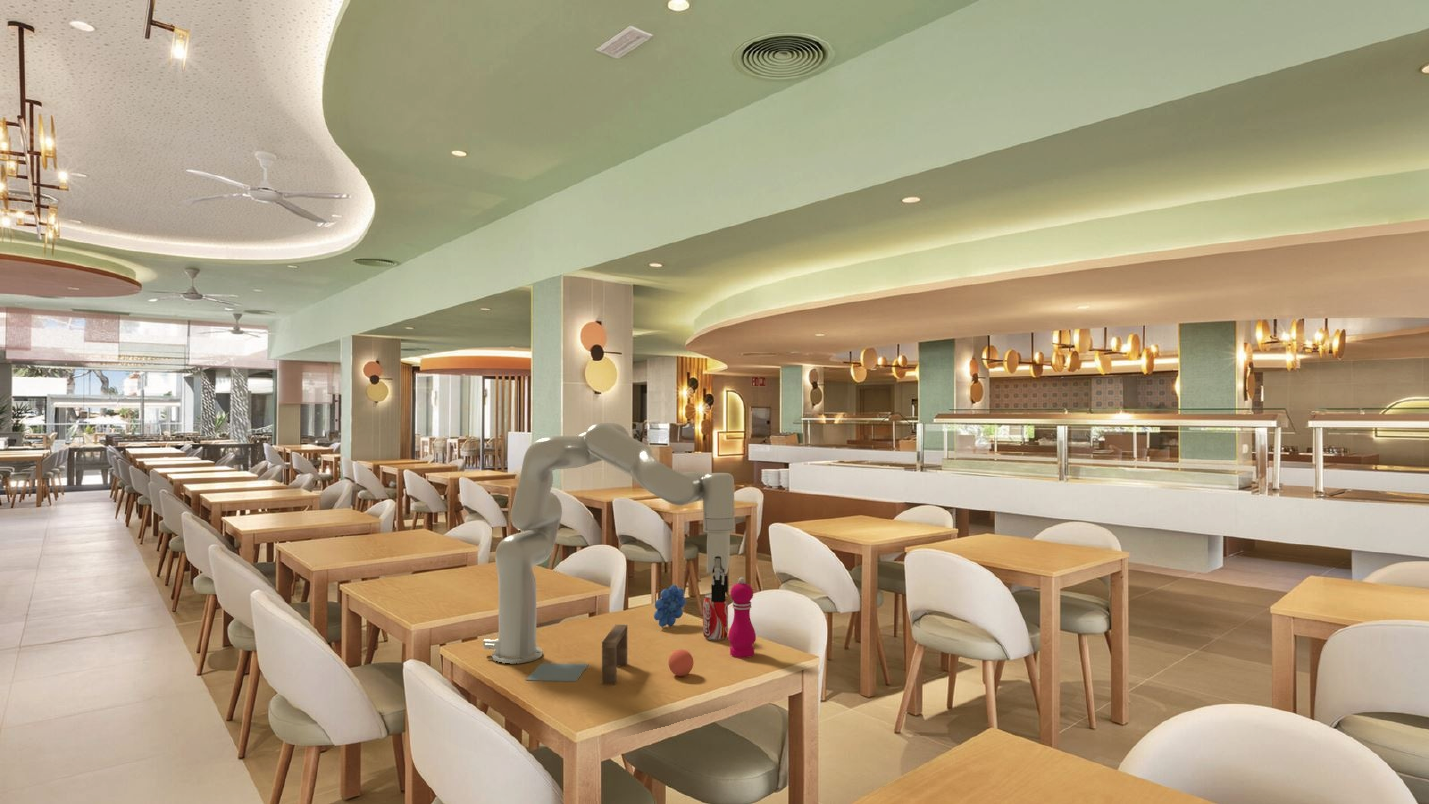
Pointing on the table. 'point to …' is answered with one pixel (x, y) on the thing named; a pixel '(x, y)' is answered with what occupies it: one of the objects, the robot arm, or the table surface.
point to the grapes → (669, 606)
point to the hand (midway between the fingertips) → (719, 597)
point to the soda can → (715, 619)
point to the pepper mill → (741, 621)
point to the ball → (681, 662)
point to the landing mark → (557, 672)
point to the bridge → (614, 653)
